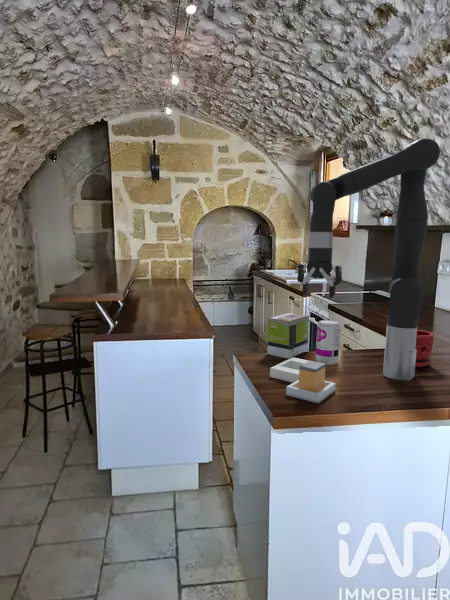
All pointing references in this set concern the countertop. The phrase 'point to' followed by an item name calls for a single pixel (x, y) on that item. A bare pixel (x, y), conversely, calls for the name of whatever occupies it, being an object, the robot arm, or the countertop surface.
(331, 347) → the supplement can
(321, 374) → the orange grey block
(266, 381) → the countertop surface
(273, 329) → the tea box
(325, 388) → the tray
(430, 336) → the plant pot
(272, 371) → the bay
